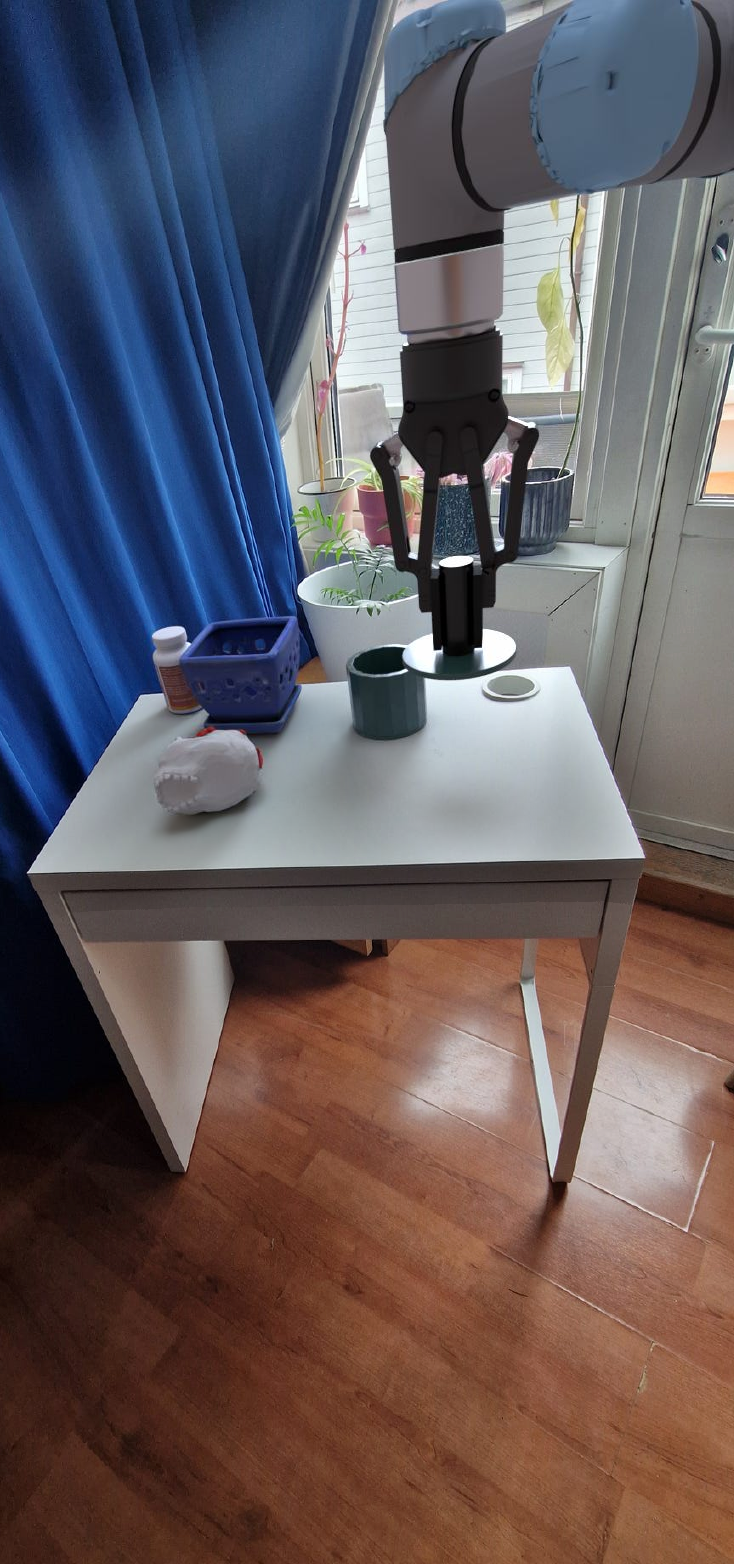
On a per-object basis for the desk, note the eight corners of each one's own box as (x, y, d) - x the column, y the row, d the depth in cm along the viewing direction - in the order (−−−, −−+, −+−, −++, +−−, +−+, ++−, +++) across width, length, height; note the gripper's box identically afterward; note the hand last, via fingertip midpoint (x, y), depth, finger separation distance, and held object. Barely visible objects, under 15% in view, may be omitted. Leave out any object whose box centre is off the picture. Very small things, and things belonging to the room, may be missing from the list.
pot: (429, 703, 99) (426, 642, 93) (423, 738, 91) (419, 675, 86) (359, 705, 101) (352, 646, 95) (348, 740, 94) (340, 678, 88)
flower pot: (196, 743, 99) (173, 659, 91) (227, 698, 108) (208, 618, 101) (290, 742, 95) (273, 655, 88) (313, 695, 105) (300, 613, 97)
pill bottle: (217, 701, 108) (199, 628, 101) (184, 719, 105) (163, 644, 98) (192, 692, 112) (173, 620, 105) (160, 709, 109) (137, 636, 102)
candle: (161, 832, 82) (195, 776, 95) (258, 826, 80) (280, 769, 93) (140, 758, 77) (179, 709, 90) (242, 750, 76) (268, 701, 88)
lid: (515, 636, 72) (518, 537, 66) (516, 683, 64) (519, 576, 58) (408, 643, 74) (402, 548, 69) (397, 689, 67) (388, 587, 61)
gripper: (562, 310, 54) (546, 622, 69) (350, 344, 58) (378, 633, 73) (568, 317, 49) (549, 655, 64) (334, 354, 52) (367, 665, 67)
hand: (458, 643), depth 68 cm, fingers closed on lid, 3 cm apart
